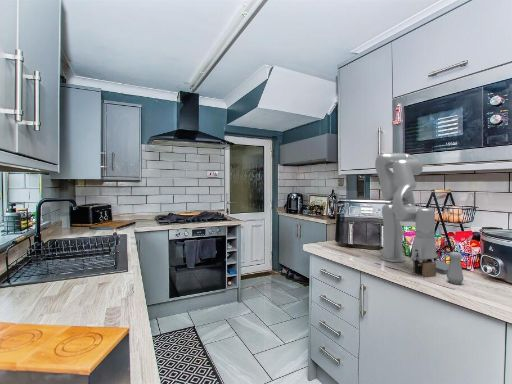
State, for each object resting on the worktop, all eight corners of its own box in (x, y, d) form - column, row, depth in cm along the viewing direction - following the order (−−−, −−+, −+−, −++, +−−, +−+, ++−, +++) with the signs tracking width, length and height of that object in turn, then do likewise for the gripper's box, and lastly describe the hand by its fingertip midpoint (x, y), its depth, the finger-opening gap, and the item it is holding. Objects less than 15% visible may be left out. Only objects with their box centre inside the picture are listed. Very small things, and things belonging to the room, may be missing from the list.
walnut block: (412, 273, 126) (412, 260, 126) (422, 271, 128) (423, 259, 128) (425, 277, 120) (425, 264, 120) (435, 276, 122) (436, 263, 122)
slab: (420, 266, 136) (420, 263, 136) (437, 264, 140) (437, 260, 140) (444, 274, 124) (444, 270, 124) (462, 271, 128) (462, 267, 128)
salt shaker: (443, 281, 116) (444, 251, 115) (452, 279, 118) (452, 250, 117) (457, 286, 110) (458, 254, 110) (466, 284, 112) (467, 253, 112)
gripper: (430, 232, 130) (430, 268, 131) (403, 234, 125) (403, 272, 125) (446, 235, 123) (445, 273, 124) (418, 237, 117) (417, 277, 118)
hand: (424, 272), depth 124 cm, fingers closed on walnut block, 6 cm apart
